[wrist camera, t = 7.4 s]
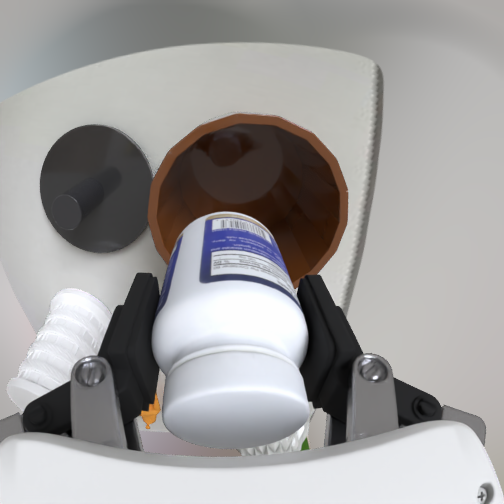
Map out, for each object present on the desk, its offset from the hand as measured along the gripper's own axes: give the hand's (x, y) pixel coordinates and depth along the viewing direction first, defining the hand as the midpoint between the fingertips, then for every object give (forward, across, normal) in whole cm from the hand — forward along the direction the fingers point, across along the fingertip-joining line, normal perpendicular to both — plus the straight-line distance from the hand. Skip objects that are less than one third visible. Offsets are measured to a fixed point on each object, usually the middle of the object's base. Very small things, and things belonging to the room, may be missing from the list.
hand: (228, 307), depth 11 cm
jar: (+21, -2, 0) cm, 21 cm away
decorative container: (+21, +22, +22) cm, 38 cm away
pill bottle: (+4, 0, 0) cm, 4 cm away
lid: (+21, +15, +2) cm, 26 cm away
